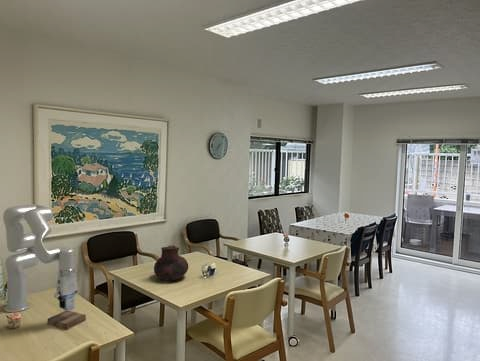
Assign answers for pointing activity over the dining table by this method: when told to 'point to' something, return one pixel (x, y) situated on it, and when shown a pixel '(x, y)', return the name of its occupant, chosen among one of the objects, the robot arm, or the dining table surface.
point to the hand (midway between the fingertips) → (67, 305)
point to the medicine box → (69, 301)
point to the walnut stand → (66, 319)
